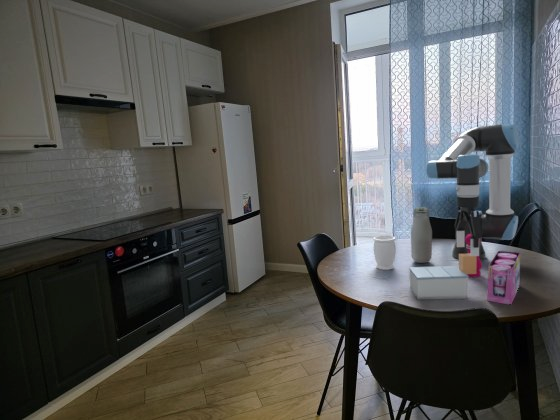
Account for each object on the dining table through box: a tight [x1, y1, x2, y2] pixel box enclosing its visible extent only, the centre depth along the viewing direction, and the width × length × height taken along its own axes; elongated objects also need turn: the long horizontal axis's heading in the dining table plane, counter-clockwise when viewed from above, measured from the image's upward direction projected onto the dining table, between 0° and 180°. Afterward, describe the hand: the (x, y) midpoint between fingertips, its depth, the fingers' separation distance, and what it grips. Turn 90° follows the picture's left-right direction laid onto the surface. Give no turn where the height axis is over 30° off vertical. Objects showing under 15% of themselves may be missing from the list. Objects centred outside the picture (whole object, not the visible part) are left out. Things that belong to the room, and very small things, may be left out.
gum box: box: [486, 250, 521, 305], centre depth 140 cm, size 24×8×14 cm, turn 141°
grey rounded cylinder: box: [410, 206, 433, 264], centre depth 184 cm, size 10×10×28 cm
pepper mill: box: [465, 234, 483, 278], centre depth 162 cm, size 7×7×20 cm
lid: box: [408, 253, 477, 280], centre depth 144 cm, size 23×13×7 cm, turn 84°
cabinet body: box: [409, 270, 469, 301], centre depth 145 cm, size 18×12×8 cm, turn 84°
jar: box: [373, 235, 397, 271], centre depth 181 cm, size 11×10×15 cm
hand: (467, 251), depth 142 cm, fingers open, 13 cm apart
